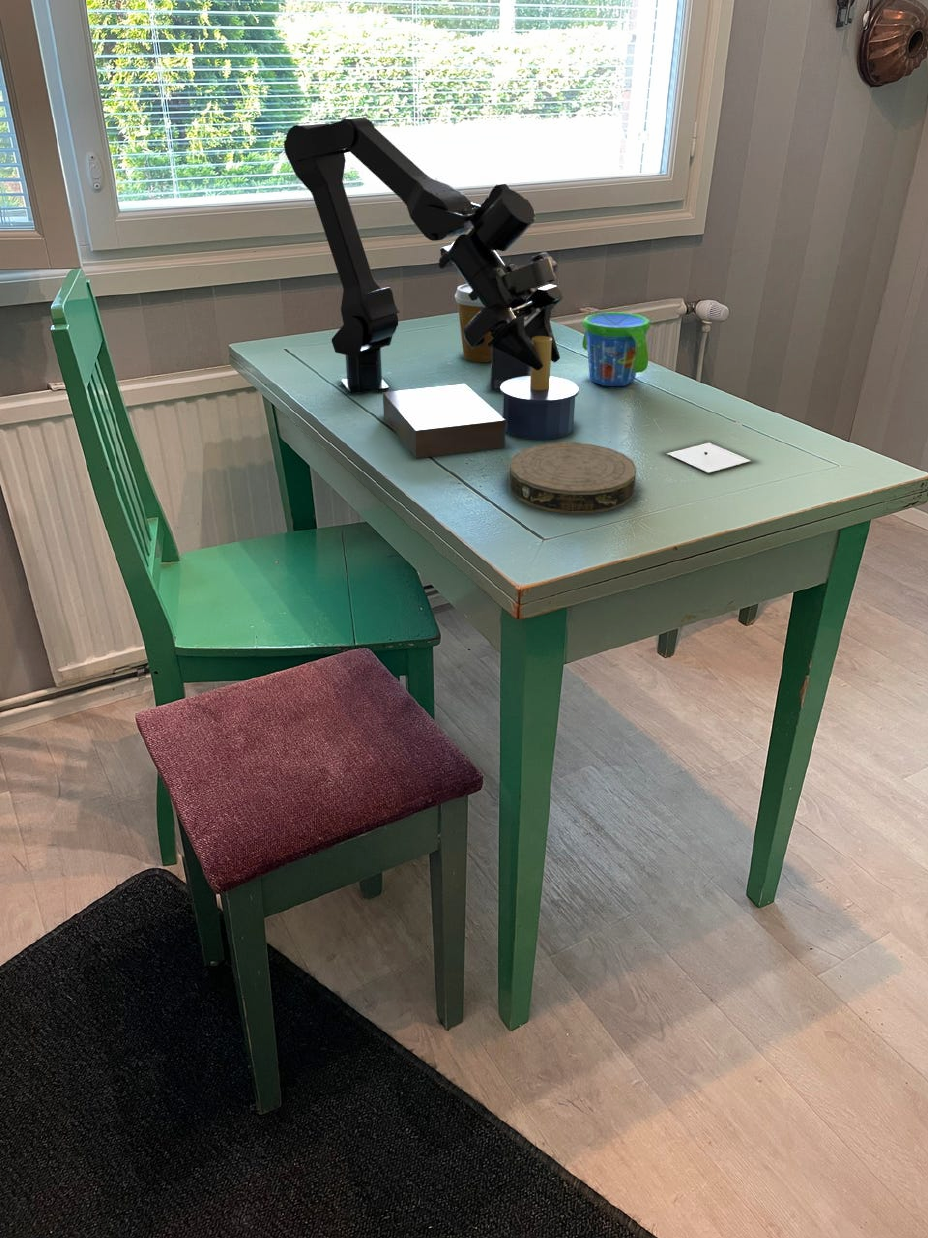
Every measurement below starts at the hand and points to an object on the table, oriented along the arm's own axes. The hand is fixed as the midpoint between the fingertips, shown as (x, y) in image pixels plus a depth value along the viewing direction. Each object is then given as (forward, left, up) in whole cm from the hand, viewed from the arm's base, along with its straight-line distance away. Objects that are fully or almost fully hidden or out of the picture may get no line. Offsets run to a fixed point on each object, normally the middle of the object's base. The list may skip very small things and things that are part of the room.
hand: (549, 364), depth 132 cm
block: (-4, -15, -10) cm, 18 cm away
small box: (-22, +4, -10) cm, 24 cm away
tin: (-1, -1, -10) cm, 10 cm away
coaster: (+17, +17, -10) cm, 26 cm away
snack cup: (-18, +20, -10) cm, 28 cm away
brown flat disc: (+20, -5, -10) cm, 23 cm away
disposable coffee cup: (-38, +4, -10) cm, 39 cm away
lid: (-1, -1, -4) cm, 4 cm away
